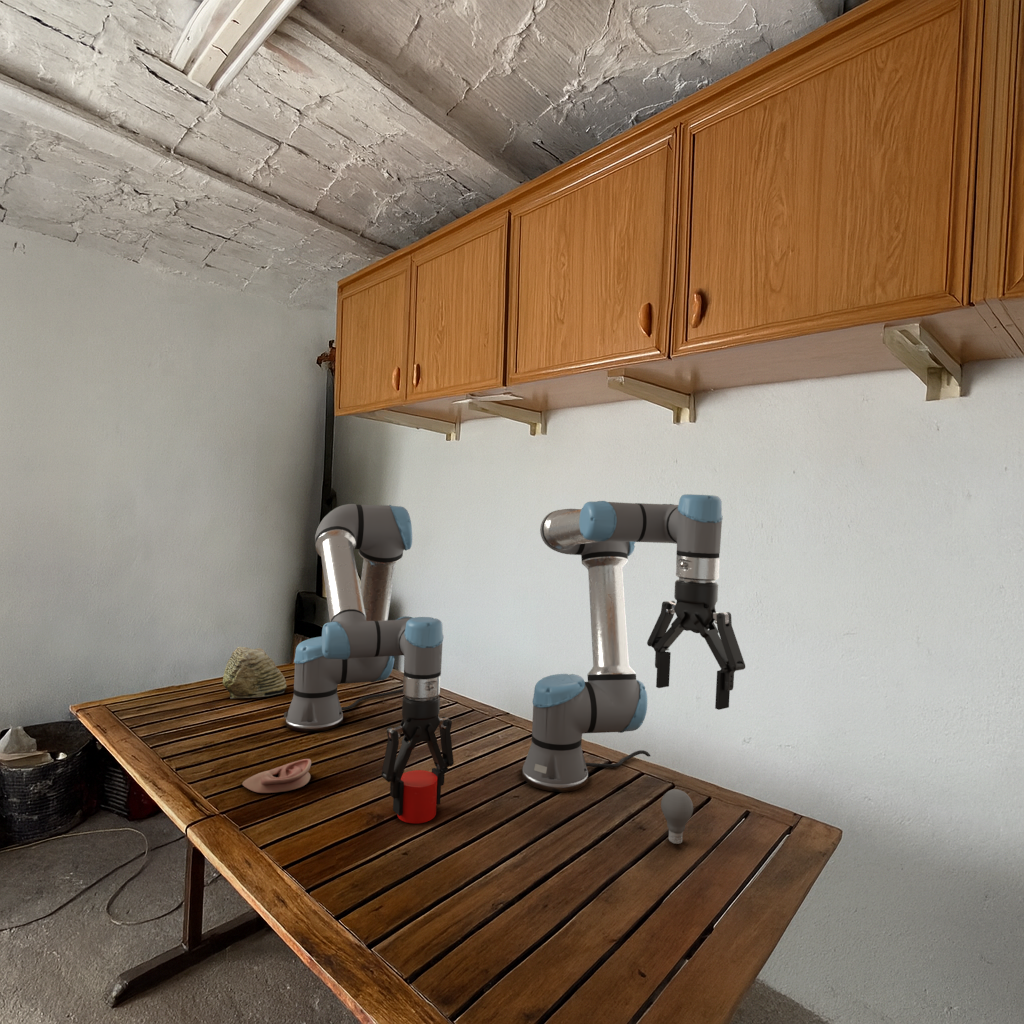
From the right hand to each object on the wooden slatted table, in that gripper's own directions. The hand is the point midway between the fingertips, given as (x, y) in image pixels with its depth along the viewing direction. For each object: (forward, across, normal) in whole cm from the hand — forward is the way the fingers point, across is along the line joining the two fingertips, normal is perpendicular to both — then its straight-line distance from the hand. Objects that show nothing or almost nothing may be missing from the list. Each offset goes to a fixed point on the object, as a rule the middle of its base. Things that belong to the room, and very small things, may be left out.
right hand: (690, 697), depth 115 cm
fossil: (+30, -131, -47) cm, 142 cm away
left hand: (+29, -39, -35) cm, 60 cm away
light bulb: (+30, -5, +4) cm, 31 cm away
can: (+30, -39, -34) cm, 60 cm away
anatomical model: (+30, -66, -55) cm, 91 cm away
